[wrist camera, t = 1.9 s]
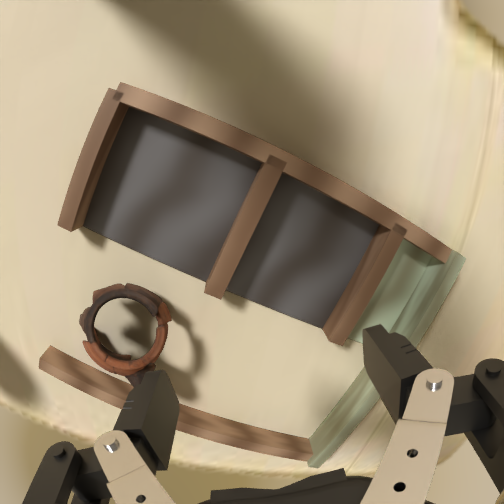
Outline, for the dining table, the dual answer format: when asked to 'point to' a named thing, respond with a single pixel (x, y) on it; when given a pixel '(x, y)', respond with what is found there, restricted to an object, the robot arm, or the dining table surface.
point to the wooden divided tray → (250, 246)
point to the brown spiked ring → (117, 361)
